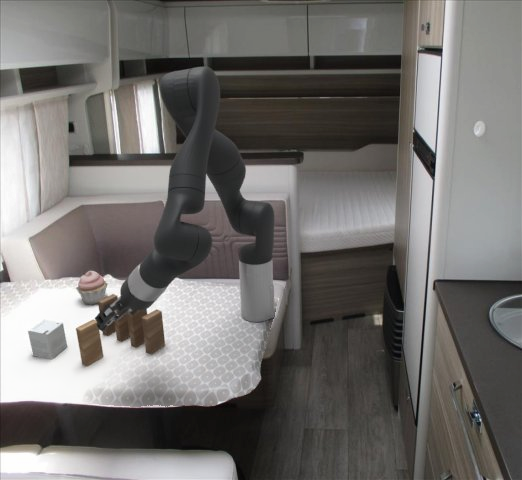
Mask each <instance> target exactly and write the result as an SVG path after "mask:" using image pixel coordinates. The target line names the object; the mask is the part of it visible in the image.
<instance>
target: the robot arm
mask: <svg viewBox="0 0 522 480" xmlns="http://www.w3.org/2000/svg"><path fill="white" fill-rule="evenodd" d="M159 90H160V96H161V100H162V102H163V104H164V107H165V108H166V111H167V112H168V114H169V116H170V117H171V119H172V120H173V121H174V123H175V124H176V126H177V127H178V128H179V130H180V131H181V133H182V135H183V136H184V137H185V140H184V142H183V143H182V144H181V146H180V148H179V149H178V151H176V155H175V156H174V158H173V160H172V163H171V166H170V168H169V173H168V174H169V175H168V183H167V184H168V185H167V195H166V196H167V198H166V203H165V205H164V209H163V212H162V214H161V217H160V220H159V223H158V225H157V227H156V230H155V231H154V232H155V233H154V235H153V246H154V248H153V249H151V251H150V252H149V253H148V254H147V255H146V257H145V258H144V259H143V260H142V262H140V263H139V264H138V265H137V266H136V267H135V268H134V269H133V270H132V271H131V273H130V274H129V275H128V276H127V277H126V279H125V280H124V281H123V283H122V284H121V286H120V288H119V289H120V292H119V293H120V296H119V297H118V299H117V301H115V302H114V303H113V304H111V305H109V304H108V305H106V306H105V307H104V308H103V309H102V310H101V312H99V313H98V314H97V315H96V316H95V318H94V320H96V321H97V327H98V328H99V331H100V332H102V331H104V330H105V329H106V328H107V327H108V326H109V325H110V324H111V323H112V322H113V321H115V320H119V319H121V318H122V317H123V316H125V315H126V314H127V313H130V314H131V315H133V314H135V313H136V312H137V311H138V310H145V309H147V310H148V309H149V308H150V307H152V305H153V304H154V303H155V302H156V301H157V300H158V299H160V297H161V296H162V295H163V294H164V293H165V292H166V290H167V288H168V287H169V285H170V284H171V283H172V282H173V281H174V280H175V279H176V278H177V277H178V276H180V275H183V274H184V273H186V272H188V271H190V270H192V269H194V268H196V267H198V266H199V265H200V264H202V263H203V262H204V261H205V260H206V259H207V258H208V256H209V255H210V253H211V250H212V246H213V236H212V234H211V232H210V231H209V230H208V229H207V228H206V227H203V226H201V225H198V224H193V223H189V222H184V221H181V216H182V215H196V214H198V213H201V212H202V211H203V209H204V207H205V201H206V200H205V199H206V185H207V183H206V182H207V181H206V180H207V178H208V179H209V181H210V183H211V184H212V186H213V188H214V190H215V192H216V194H217V196H218V198H219V199H220V202H221V204H222V206H223V209H224V211H225V215H226V217H227V219H228V221H229V224H230V226H231V227H232V229H233V231H234V232H235V233H237V234H239V235H243V236H253V237H255V240H254V241H255V242H251V243H246V244H244V245H242V246H241V247H240V248H239V249H238V270H239V275H238V276H239V291H240V293H239V295H240V311H241V312H240V313H241V315H240V316H241V317H242V319H244V320H246V321H248V322H253V323H254V322H255V323H260V322H266V321H268V320H270V319H274V318H275V317H276V316H275V315H276V314H275V286H274V275H273V274H274V267H273V253H274V246H275V245H274V243H275V238H274V236H275V234H274V233H275V212H274V208H273V205H272V204H270V203H269V202H263V201H257V200H247V199H245V198H244V197H243V194H242V193H241V189H242V186H243V184H244V181H245V178H246V172H247V169H246V168H247V167H246V164H245V161H244V159H243V157H242V155H241V153H240V151H239V149H238V146H237V145H236V143H234V142H233V141H232V140H231V139H230V138H229V137H228V136H227V135H225V134H223V133H222V132H220V131H218V130H217V129H216V124H217V119H218V115H219V109H220V102H221V88H220V82H219V79H218V77H217V75H216V72H215V71H214V70H213V69H212V68H210V67H209V66H197V67H192V68H191V67H190V68H187V69H181V70H175V71H171V72H168V73H166V74H164V75H163V76H162V77H161V78H160V83H159ZM117 310H118V311H119V312H121V313H122V314H121V315H118V313H117V312H116V311H117Z"/></svg>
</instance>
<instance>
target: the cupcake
mask: <svg viewBox="0 0 522 480" xmlns="http://www.w3.org/2000/svg"><path fill="white" fill-rule="evenodd" d="M108 284H109V283H108V282H107V281H106V280H105V279H104V277H103V276H102V275H100V274H99V272H96V271H95V270H88V271H87V272H85V274H83V275H81V276H80V278H79V281H78V284H77V287H75V289H76V290H77V293H78V294H79V295H80V297H81V300H82V301H83V303H84V304H86V305H96V304H97V305H98V301H99V300H101V299H103V298H105V297H106V291H107V288H108Z"/></svg>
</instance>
